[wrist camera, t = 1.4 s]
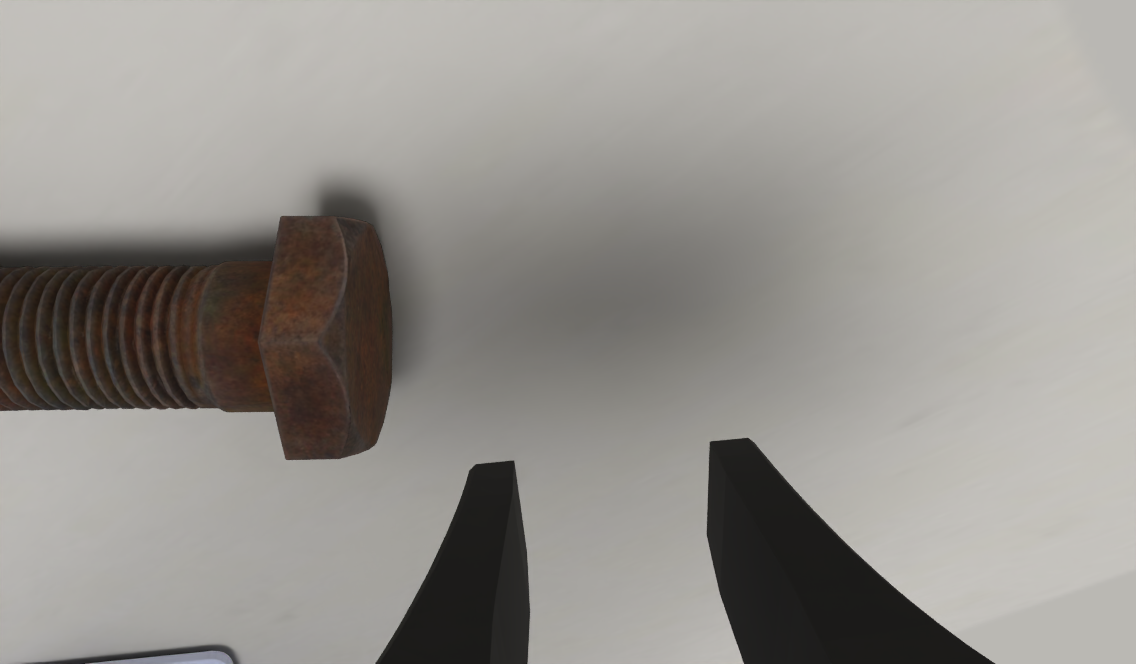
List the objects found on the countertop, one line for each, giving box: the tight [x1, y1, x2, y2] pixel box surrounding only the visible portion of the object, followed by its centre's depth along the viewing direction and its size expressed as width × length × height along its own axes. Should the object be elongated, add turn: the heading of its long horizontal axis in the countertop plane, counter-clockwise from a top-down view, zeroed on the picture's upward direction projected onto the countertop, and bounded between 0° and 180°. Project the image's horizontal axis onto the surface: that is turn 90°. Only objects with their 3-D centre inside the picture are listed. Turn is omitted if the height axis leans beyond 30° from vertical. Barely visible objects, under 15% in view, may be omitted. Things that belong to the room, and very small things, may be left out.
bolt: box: [0, 216, 392, 460], centre depth 18 cm, size 6×5×15 cm
